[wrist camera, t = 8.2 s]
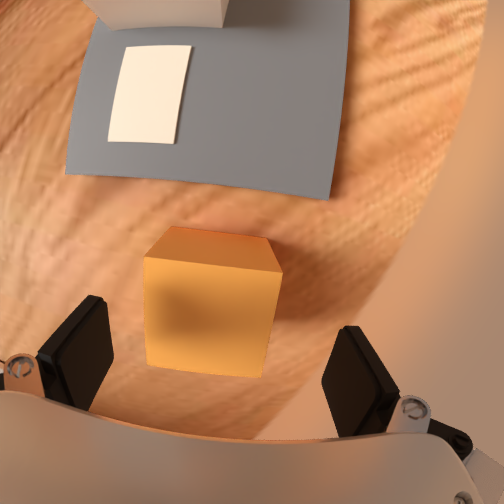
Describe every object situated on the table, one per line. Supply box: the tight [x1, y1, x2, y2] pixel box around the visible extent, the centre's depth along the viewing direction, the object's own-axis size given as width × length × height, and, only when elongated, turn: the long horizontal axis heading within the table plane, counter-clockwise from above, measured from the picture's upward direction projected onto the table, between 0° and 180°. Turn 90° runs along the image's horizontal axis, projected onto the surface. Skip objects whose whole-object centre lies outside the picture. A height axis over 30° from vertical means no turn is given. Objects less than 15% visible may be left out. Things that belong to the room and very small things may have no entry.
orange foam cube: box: [143, 227, 283, 378], centre depth 16 cm, size 6×6×6 cm
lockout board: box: [65, 0, 350, 201], centre depth 10 cm, size 18×16×7 cm
